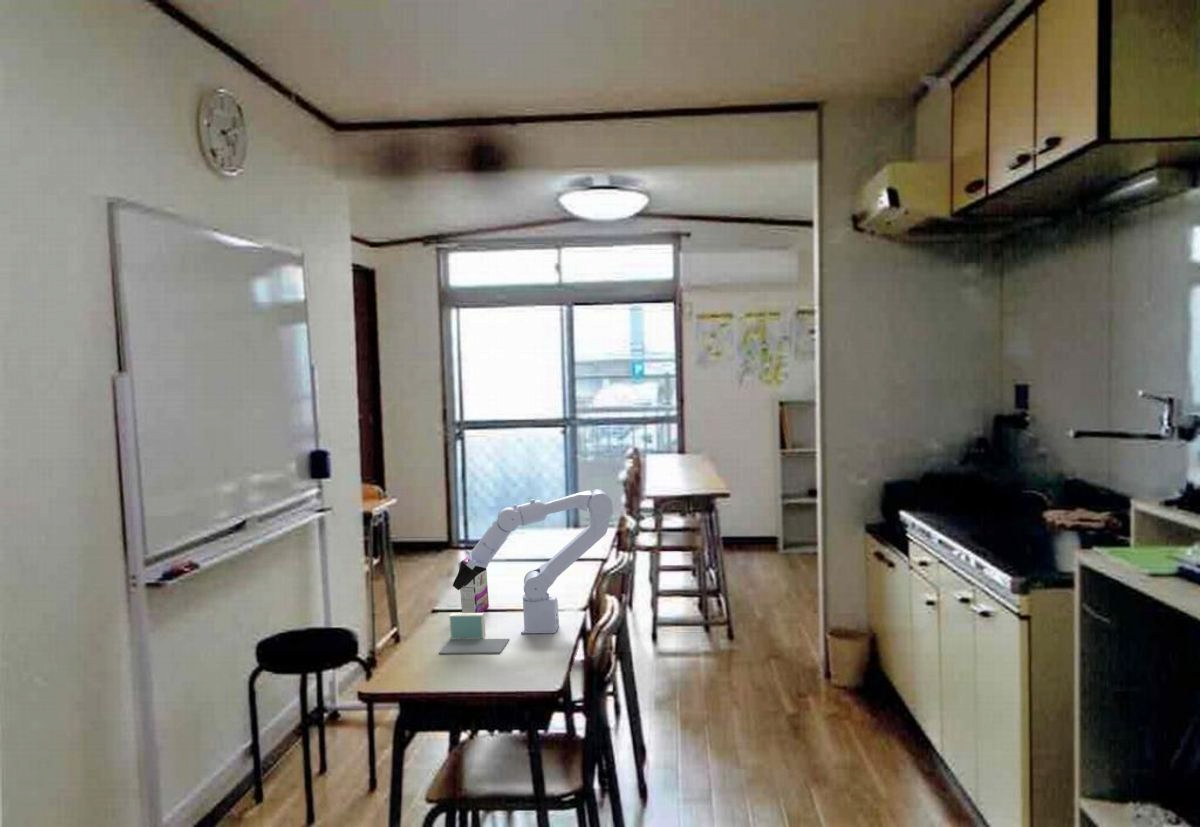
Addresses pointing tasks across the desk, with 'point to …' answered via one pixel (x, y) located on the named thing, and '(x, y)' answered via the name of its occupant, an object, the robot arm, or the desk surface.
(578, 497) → the robot arm
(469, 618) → the block
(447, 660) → the desk surface
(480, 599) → the candy bar box
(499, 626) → the desk surface
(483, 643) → the mat
